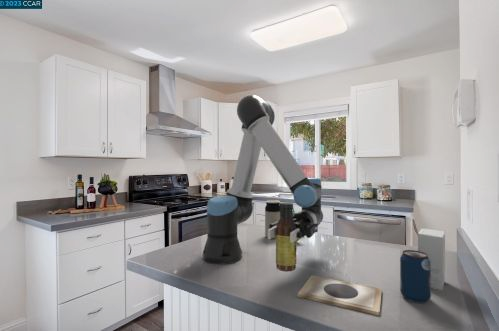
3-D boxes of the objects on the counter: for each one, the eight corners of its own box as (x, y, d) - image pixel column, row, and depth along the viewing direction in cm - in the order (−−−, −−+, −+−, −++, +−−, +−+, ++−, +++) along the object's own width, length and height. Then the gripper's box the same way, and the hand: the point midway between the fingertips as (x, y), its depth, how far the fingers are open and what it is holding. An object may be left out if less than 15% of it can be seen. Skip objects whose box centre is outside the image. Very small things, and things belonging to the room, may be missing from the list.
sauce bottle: (299, 272, 80) (300, 204, 80) (278, 273, 79) (280, 205, 79) (292, 264, 86) (293, 201, 86) (273, 264, 85) (274, 201, 85)
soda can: (437, 304, 70) (437, 257, 70) (411, 305, 69) (411, 257, 69) (418, 291, 76) (418, 248, 76) (394, 292, 76) (394, 249, 76)
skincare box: (420, 276, 87) (420, 227, 87) (446, 281, 83) (446, 230, 83) (416, 285, 81) (416, 232, 81) (444, 291, 76) (443, 236, 76)
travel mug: (276, 239, 131) (276, 202, 131) (262, 237, 136) (262, 201, 136) (283, 236, 138) (283, 200, 138) (269, 234, 142) (269, 199, 142)
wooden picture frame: (297, 296, 74) (297, 292, 74) (311, 278, 86) (311, 274, 86) (379, 315, 64) (379, 311, 64) (381, 291, 76) (381, 288, 76)
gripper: (330, 235, 94) (312, 254, 74) (279, 228, 103) (250, 244, 83) (331, 214, 94) (313, 227, 74) (279, 209, 103) (250, 219, 83)
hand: (280, 236), depth 78 cm, fingers closed on sauce bottle, 6 cm apart
